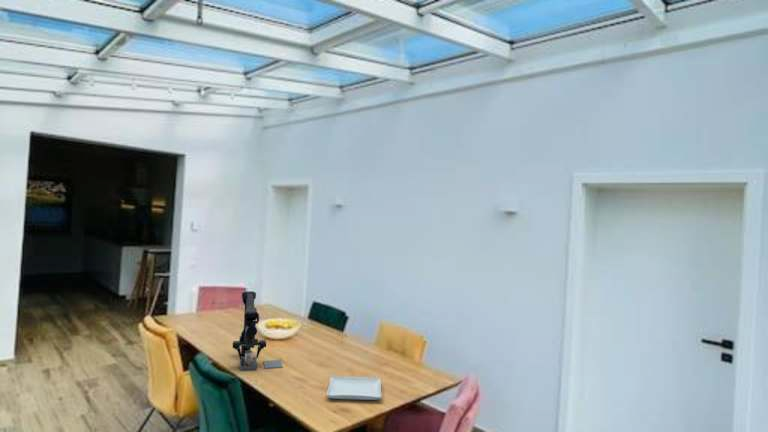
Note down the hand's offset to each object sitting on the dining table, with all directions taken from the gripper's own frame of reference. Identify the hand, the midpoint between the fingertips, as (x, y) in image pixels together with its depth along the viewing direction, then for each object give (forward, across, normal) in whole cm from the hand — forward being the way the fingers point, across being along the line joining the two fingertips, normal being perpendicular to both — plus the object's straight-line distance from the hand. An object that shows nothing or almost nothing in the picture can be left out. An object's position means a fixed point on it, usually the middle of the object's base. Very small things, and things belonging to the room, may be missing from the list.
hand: (248, 358), depth 268 cm
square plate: (+5, +51, -50) cm, 72 cm away
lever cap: (+1, 0, 0) cm, 1 cm away
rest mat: (+4, +14, 0) cm, 15 cm away
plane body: (+4, 0, 0) cm, 4 cm away
